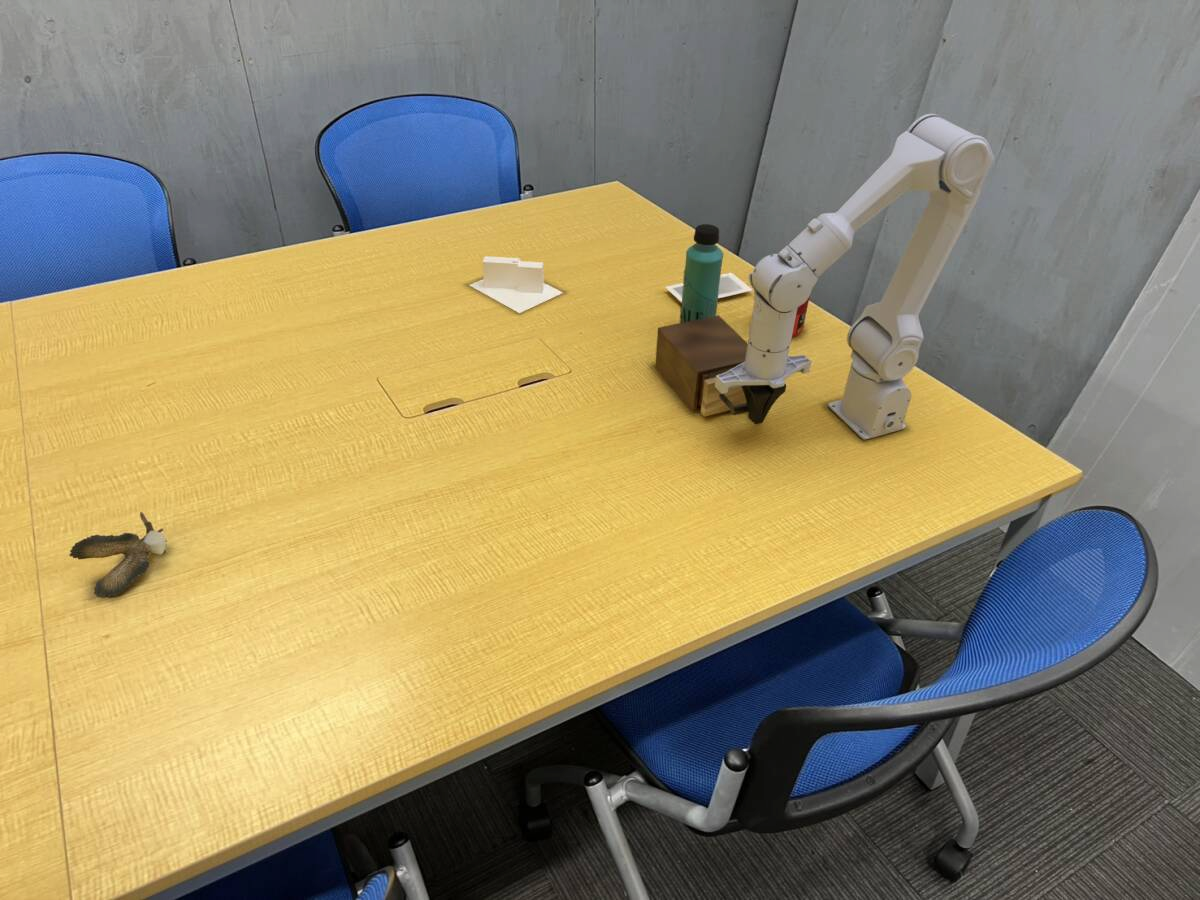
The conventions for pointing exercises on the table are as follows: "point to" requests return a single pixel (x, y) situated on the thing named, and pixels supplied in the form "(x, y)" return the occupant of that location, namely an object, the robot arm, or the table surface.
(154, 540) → the eagle figurine
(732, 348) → the cabinet
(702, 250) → the beverage bottle
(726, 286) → the touchpad
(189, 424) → the table surface
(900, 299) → the robot arm
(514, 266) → the napkin holder
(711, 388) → the drawer
